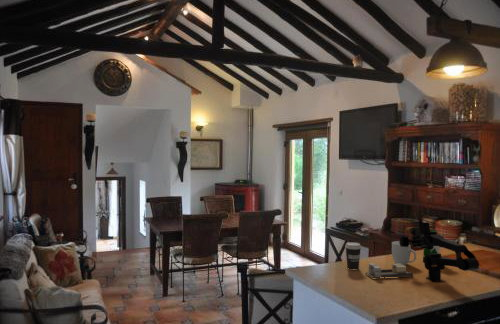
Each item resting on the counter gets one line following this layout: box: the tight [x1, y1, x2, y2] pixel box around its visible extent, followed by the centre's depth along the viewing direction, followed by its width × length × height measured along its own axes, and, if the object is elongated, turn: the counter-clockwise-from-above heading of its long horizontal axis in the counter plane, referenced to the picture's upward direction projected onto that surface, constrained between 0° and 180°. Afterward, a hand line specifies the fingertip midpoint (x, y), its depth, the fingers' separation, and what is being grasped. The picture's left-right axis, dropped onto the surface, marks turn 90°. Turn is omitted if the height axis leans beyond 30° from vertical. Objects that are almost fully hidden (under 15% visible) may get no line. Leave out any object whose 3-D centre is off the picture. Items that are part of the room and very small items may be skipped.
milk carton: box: [422, 230, 441, 263], centre depth 248 cm, size 9×9×20 cm
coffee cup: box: [344, 241, 362, 270], centre depth 237 cm, size 10×10×15 cm
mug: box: [391, 240, 417, 266], centre depth 245 cm, size 15×11×13 cm
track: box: [365, 262, 414, 278], centre depth 224 cm, size 9×24×6 cm, turn 98°
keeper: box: [391, 263, 407, 273], centre depth 224 cm, size 6×5×4 cm
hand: (406, 243), depth 240 cm, fingers open, 9 cm apart
